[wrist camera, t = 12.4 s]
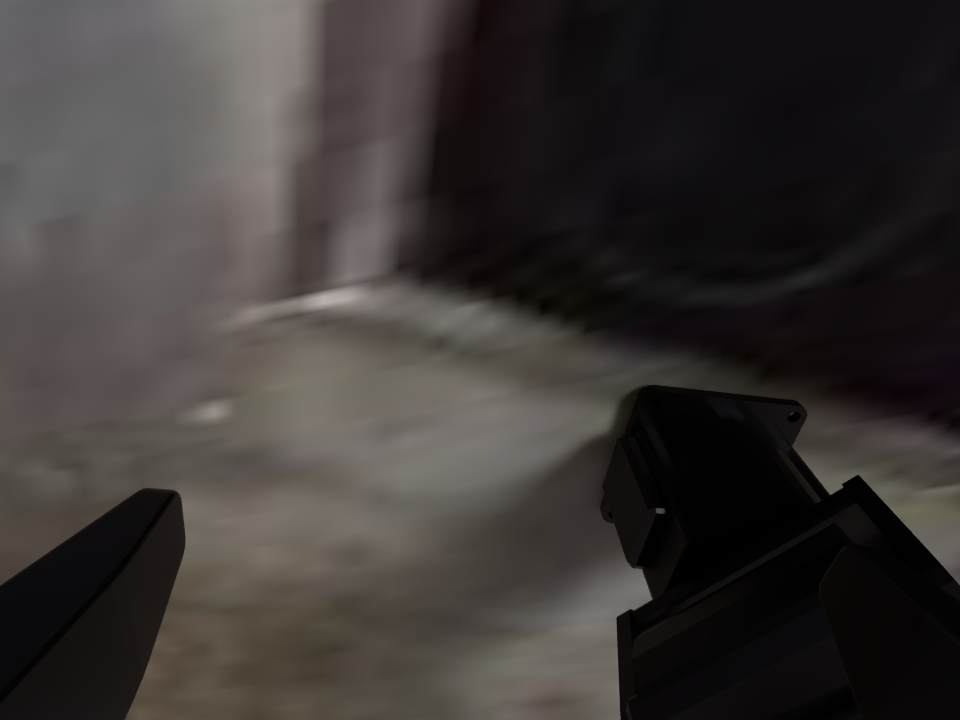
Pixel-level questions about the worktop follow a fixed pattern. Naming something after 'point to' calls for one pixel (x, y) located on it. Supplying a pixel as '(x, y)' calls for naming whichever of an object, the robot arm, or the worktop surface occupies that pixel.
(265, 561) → the worktop surface
